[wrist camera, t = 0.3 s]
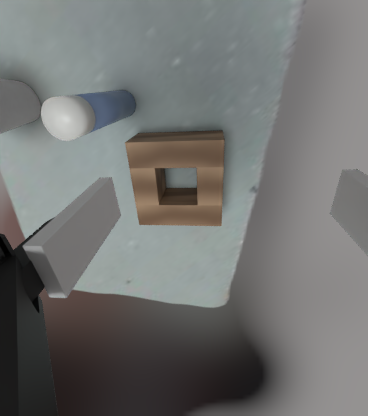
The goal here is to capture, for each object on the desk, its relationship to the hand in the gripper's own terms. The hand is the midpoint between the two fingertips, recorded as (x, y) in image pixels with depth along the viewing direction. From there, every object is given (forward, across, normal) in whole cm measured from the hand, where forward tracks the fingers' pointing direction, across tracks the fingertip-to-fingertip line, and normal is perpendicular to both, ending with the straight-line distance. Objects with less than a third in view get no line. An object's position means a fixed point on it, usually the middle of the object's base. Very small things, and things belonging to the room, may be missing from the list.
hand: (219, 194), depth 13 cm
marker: (+28, -15, +4) cm, 31 cm away
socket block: (+27, -6, -9) cm, 29 cm away
